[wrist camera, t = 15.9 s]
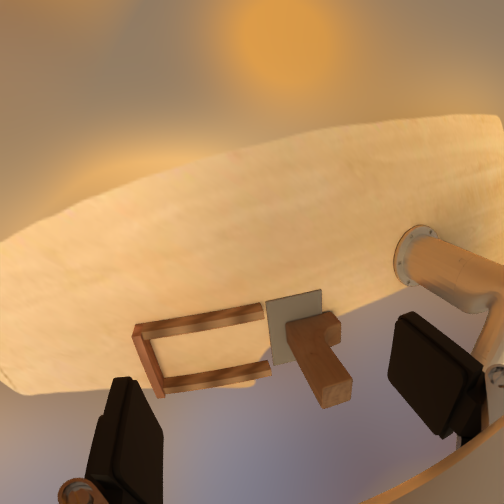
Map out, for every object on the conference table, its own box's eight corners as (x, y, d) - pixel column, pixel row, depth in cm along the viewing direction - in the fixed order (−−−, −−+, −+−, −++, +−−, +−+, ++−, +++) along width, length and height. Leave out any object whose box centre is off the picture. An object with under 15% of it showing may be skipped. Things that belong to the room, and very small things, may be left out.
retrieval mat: (320, 289, 50) (321, 290, 50) (321, 351, 55) (322, 353, 54) (265, 301, 49) (265, 302, 49) (273, 364, 53) (273, 365, 53)
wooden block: (331, 310, 52) (382, 368, 35) (331, 330, 53) (378, 390, 36) (284, 322, 51) (322, 389, 34) (286, 342, 52) (321, 410, 35)
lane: (259, 302, 49) (264, 313, 45) (268, 365, 53) (273, 378, 50) (135, 324, 46) (131, 336, 42) (158, 384, 50) (157, 398, 47)
